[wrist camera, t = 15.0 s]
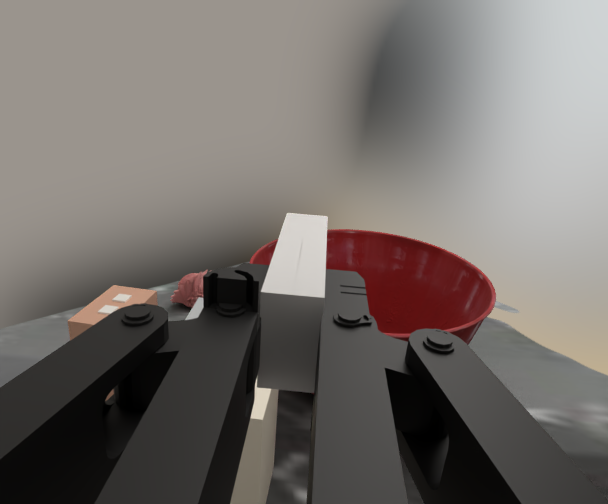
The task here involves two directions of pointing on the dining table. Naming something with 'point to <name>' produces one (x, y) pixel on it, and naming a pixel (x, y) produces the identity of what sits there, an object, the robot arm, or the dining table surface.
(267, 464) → the cream block
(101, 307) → the terracotta block
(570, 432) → the dining table surface
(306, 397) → the dining table surface
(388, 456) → the robot arm
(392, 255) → the mixing bowl
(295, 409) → the dining table surface
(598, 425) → the dining table surface
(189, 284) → the flower
